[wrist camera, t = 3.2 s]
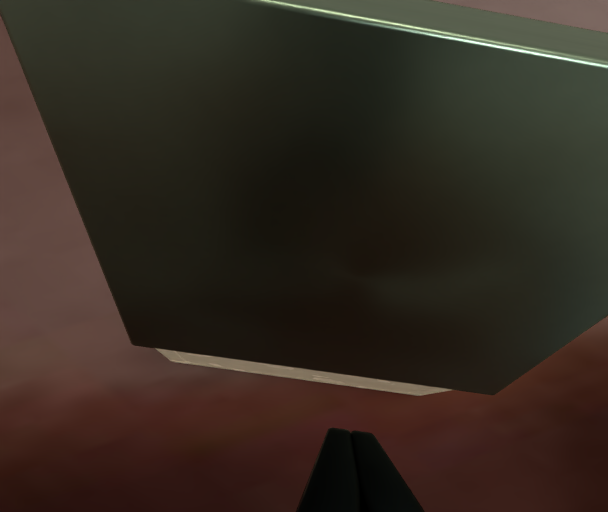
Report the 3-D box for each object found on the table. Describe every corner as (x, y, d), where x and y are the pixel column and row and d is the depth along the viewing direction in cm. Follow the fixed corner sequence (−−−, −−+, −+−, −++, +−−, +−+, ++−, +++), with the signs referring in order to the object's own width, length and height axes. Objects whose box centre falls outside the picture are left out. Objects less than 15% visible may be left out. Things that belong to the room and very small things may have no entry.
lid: (0, -84, 6) (-31, -54, 6) (864, 76, 7) (899, 115, 6) (138, 322, 15) (130, 346, 15) (491, 372, 16) (494, 396, 16)
